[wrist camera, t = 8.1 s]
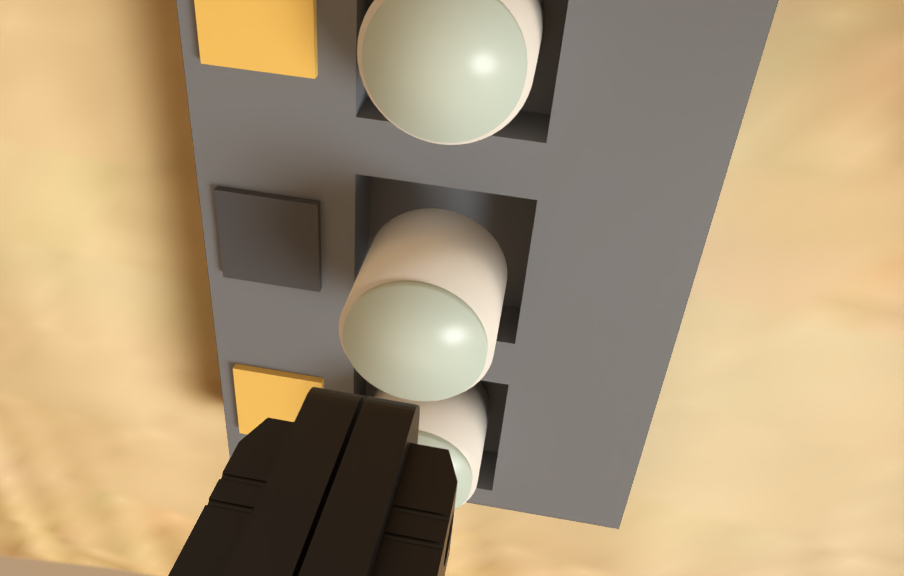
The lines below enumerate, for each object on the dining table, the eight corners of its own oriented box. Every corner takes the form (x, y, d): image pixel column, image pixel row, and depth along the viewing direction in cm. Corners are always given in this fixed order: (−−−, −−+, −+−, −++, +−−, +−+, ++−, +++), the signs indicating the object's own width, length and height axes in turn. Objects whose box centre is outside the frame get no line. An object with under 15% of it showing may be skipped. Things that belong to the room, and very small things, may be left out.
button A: (555, -56, 24) (546, -17, 20) (533, 102, 26) (522, 160, 23) (390, -76, 24) (354, -40, 21) (386, 82, 27) (353, 137, 23)
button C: (495, 367, 33) (482, 443, 29) (483, 451, 36) (470, 529, 32) (378, 348, 33) (351, 421, 30) (375, 432, 36) (351, 507, 33)
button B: (515, 219, 27) (501, 294, 23) (499, 335, 29) (485, 417, 26) (370, 198, 27) (335, 269, 24) (367, 314, 30) (336, 392, 26)
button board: (782, -102, 23) (804, -78, 21) (618, 475, 37) (618, 534, 35) (202, -166, 25) (153, -151, 22) (254, 413, 39) (227, 466, 36)
